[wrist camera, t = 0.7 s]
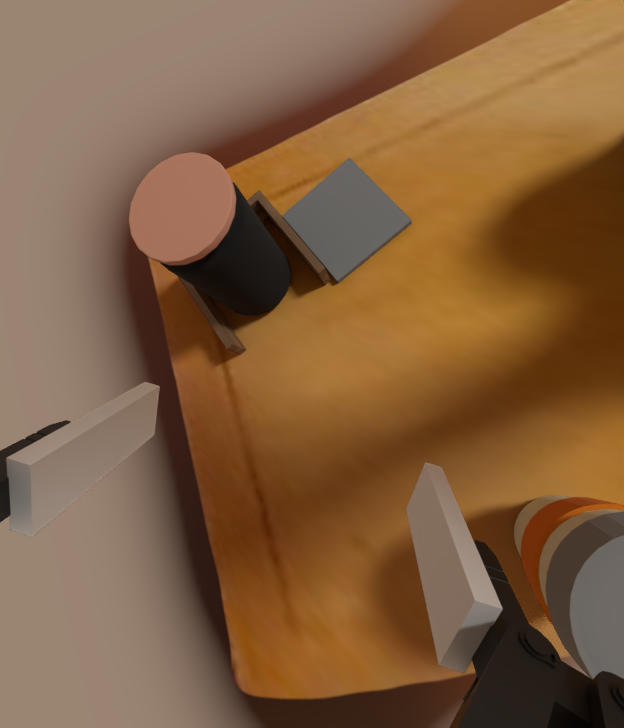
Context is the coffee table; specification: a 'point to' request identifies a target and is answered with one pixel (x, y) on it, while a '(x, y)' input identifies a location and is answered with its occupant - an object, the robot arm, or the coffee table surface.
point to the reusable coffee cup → (578, 575)
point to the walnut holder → (267, 210)
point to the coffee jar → (208, 234)
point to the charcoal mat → (346, 220)
